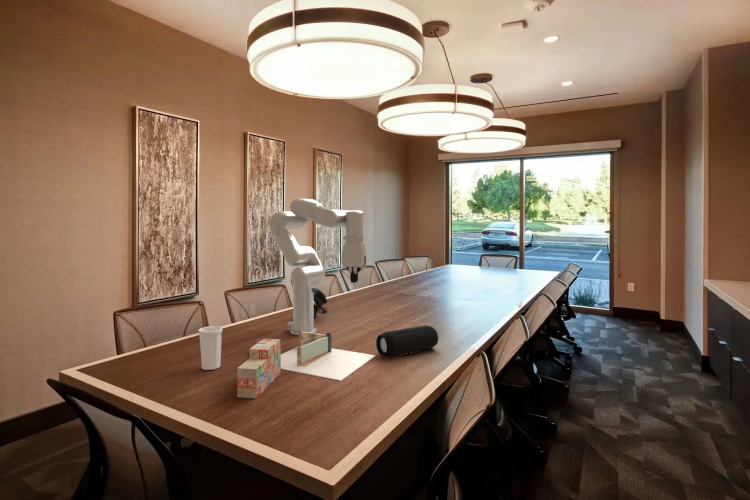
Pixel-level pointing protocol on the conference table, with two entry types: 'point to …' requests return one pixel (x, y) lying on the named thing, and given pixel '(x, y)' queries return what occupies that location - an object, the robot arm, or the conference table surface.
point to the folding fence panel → (312, 350)
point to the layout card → (326, 363)
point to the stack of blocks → (259, 368)
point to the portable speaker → (406, 340)
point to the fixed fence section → (313, 338)
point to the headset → (319, 301)
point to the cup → (210, 347)
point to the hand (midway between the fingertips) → (354, 282)
